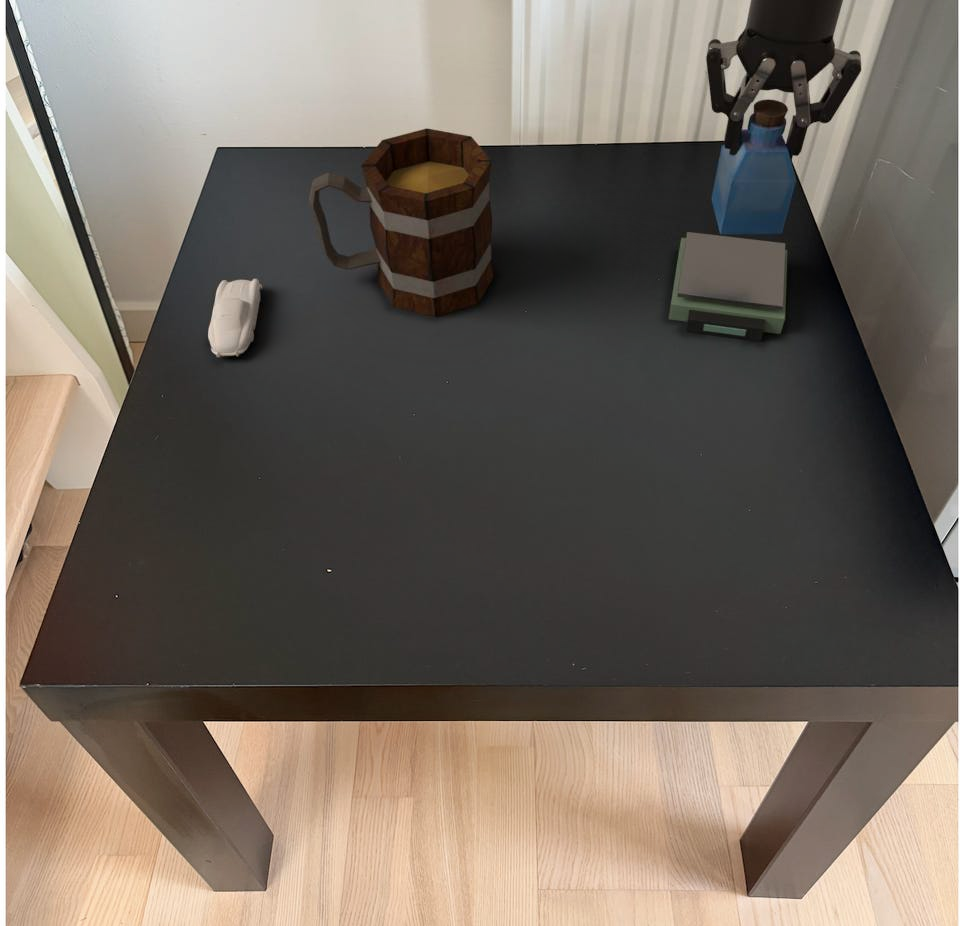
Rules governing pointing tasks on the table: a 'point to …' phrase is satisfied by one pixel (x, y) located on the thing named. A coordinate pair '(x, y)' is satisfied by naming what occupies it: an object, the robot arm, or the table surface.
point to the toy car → (234, 317)
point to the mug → (422, 220)
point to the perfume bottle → (756, 176)
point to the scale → (725, 313)
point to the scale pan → (733, 271)
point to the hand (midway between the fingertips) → (760, 153)
